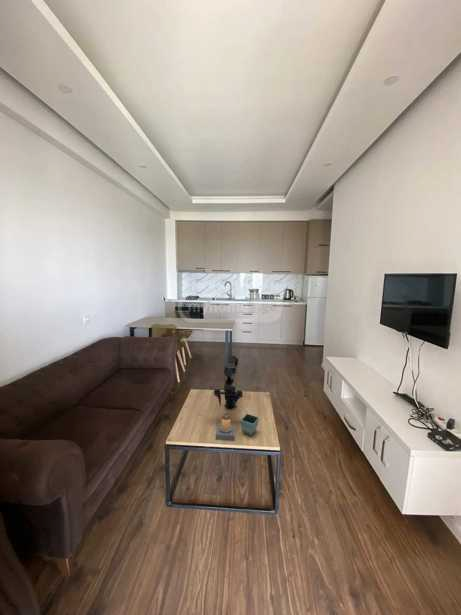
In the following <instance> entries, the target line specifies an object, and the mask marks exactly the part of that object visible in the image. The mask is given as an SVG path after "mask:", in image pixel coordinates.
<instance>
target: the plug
mask: <svg viewBox="0 0 461 615" xmlns="http://www.w3.org/2000/svg"><path fill="white" fill-rule="evenodd" d="M221 424H222V425H221V426H220V431H221V432H223V433H231V431H232V426H231V425H232V424H231V414H229V413H223V414H222V415H221Z"/></svg>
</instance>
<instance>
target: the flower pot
mask: <svg viewBox="0 0 461 615" xmlns="http://www.w3.org/2000/svg"><path fill="white" fill-rule="evenodd" d="M259 420H260V417H258V416H256V415H253V414H249V413H245V415H244V416H243V417H242V418H241V419H240V425H241V430H242V432H243V434H246V435H250V436H252V435H253V434H254V433H255V432H256V430H257V428H258V425H259Z"/></svg>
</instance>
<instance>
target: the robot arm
mask: <svg viewBox="0 0 461 615" xmlns="http://www.w3.org/2000/svg"><path fill="white" fill-rule="evenodd" d="M238 365H239V358H238V357H237V356H236V355H229V357H227V363H226V365H225V366H224V369H223V370H224V371H223V373H224V378H225V379H224V380H225V381H224V384H223V385H224V387H223V391H222V390H221V389H217V388H216V389H214V390H213V395H214V397H216V398H217V399H218V403H219V407H221V405H222V397H221V396H222V395H224V400H225V404H224V407H225V408H227V409H229V410H232V409H235V408H237V404H238V401H239V400H240V399H241V398H243V395H244V394H243V392H244V391H242V390H236V383H235V376H236V373H237V370H238V369H237V368H238Z"/></svg>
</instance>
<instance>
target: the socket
mask: <svg viewBox="0 0 461 615" xmlns="http://www.w3.org/2000/svg"><path fill="white" fill-rule="evenodd" d="M221 425H222V423H217V428H216V433H215V440H221V441H222V440H223V441H235V438H236V424H230V425H231V426H232V431H231V432H230V433H223V432H221V431H220V426H221Z"/></svg>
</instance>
